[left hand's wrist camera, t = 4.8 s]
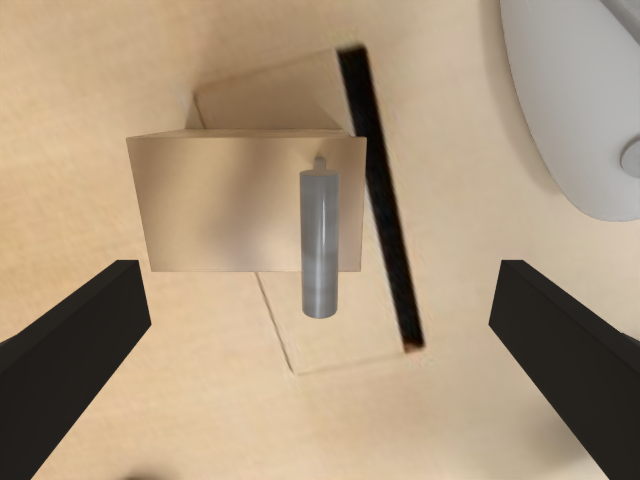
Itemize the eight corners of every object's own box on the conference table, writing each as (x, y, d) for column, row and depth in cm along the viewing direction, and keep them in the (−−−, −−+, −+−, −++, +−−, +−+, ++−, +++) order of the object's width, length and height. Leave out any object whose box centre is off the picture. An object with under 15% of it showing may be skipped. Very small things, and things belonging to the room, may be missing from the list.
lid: (365, 136, 22) (389, 151, 15) (359, 266, 26) (376, 336, 18) (132, 136, 22) (31, 151, 15) (156, 267, 26) (85, 336, 18)
